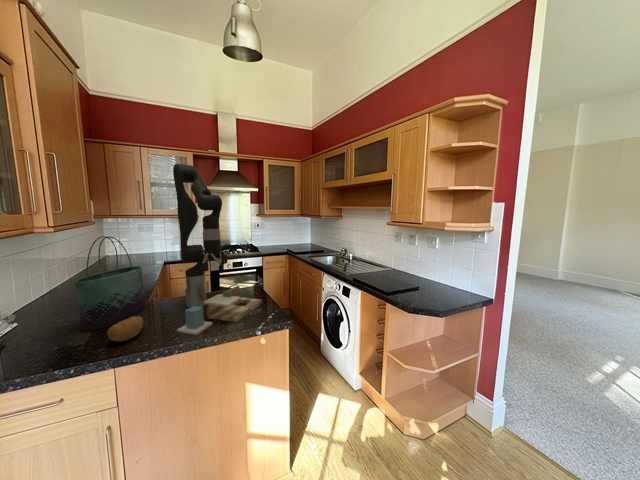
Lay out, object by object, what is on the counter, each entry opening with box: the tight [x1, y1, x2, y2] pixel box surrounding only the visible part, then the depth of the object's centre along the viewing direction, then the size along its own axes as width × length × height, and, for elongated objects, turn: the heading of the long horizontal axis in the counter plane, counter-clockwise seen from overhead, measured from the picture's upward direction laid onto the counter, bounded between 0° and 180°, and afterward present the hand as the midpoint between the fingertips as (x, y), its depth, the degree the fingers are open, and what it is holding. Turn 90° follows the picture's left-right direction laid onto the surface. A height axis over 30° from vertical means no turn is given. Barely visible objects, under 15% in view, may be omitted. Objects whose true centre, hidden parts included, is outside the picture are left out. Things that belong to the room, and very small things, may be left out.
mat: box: [176, 320, 213, 336], centre depth 113 cm, size 10×10×1 cm
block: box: [184, 306, 205, 329], centre depth 112 cm, size 5×5×8 cm
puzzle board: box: [206, 285, 263, 323], centre depth 131 cm, size 16×24×8 cm, turn 163°
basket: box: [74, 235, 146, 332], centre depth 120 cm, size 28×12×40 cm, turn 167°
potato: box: [107, 315, 144, 343], centre depth 104 cm, size 10×14×8 cm
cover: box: [204, 290, 242, 307], centre depth 121 cm, size 13×10×3 cm
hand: (213, 271), depth 121 cm, fingers open, 8 cm apart
